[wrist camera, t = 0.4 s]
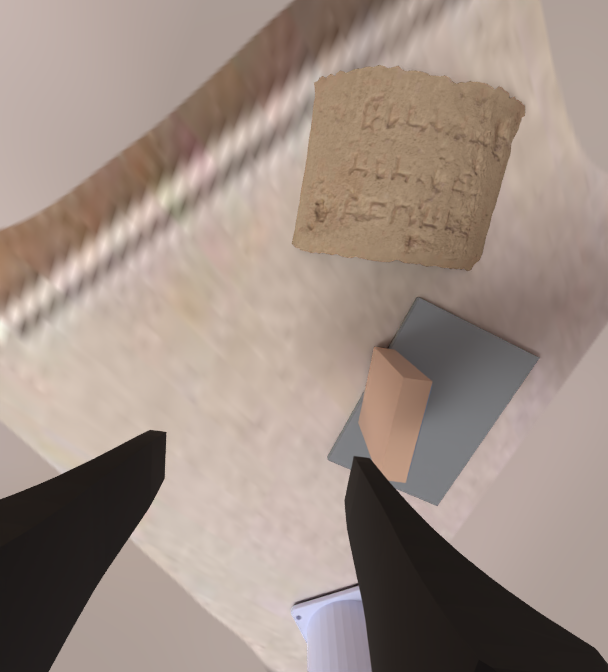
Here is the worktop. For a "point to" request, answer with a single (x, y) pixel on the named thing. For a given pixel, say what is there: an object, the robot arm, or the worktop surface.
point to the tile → (393, 412)
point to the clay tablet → (404, 166)
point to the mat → (446, 396)
